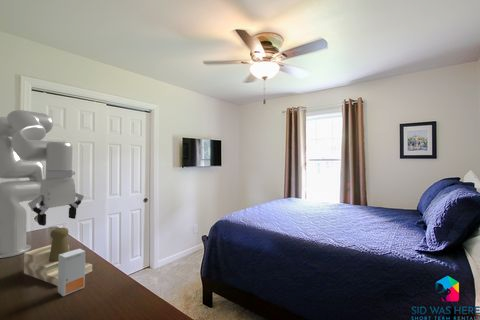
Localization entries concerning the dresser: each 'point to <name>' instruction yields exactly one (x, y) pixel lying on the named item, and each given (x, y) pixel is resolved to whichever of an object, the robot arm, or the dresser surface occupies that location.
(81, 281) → the skincare box
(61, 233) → the cork
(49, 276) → the step stand
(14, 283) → the dresser surface
